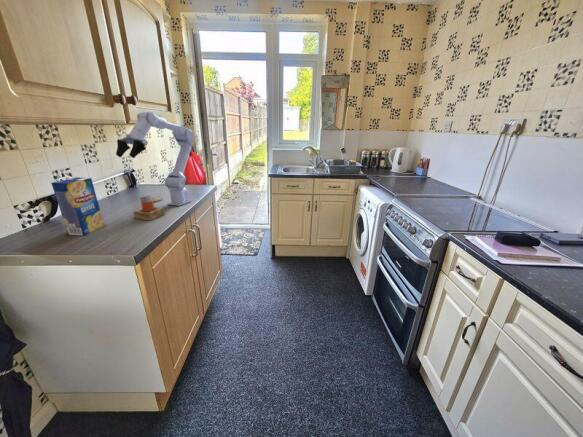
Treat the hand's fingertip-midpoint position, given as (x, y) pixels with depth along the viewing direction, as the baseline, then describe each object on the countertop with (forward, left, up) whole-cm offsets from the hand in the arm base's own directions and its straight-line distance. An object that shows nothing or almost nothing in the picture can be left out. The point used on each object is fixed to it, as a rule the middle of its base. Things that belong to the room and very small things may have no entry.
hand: (124, 156), depth 109 cm
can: (-5, +1, -30) cm, 31 cm away
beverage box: (+17, -10, -30) cm, 36 cm away
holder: (-5, +1, -30) cm, 31 cm away
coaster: (-28, -19, -30) cm, 45 cm away
